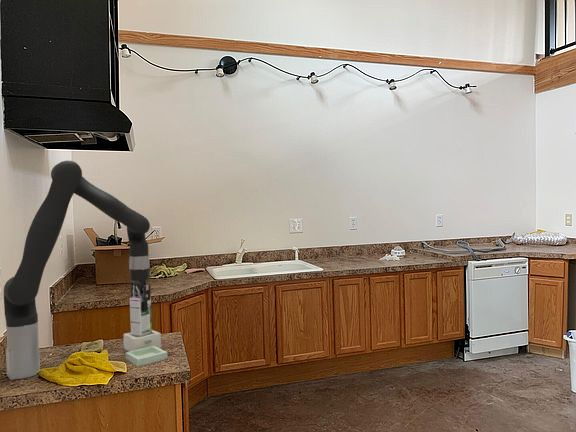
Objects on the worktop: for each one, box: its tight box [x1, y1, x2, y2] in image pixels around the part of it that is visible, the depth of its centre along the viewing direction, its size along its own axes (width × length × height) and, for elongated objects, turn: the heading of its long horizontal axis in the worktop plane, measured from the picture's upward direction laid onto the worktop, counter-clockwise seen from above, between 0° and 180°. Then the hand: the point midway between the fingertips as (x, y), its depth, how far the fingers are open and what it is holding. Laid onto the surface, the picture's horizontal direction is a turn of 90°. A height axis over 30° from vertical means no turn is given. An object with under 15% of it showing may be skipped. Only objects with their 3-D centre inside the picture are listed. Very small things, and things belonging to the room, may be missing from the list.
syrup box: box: [129, 296, 153, 336], centre depth 175 cm, size 6×6×14 cm
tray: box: [125, 346, 169, 368], centre depth 163 cm, size 11×11×2 cm
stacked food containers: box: [122, 329, 162, 352], centre depth 175 cm, size 11×11×6 cm
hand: (140, 309), depth 175 cm, fingers closed on syrup box, 6 cm apart
